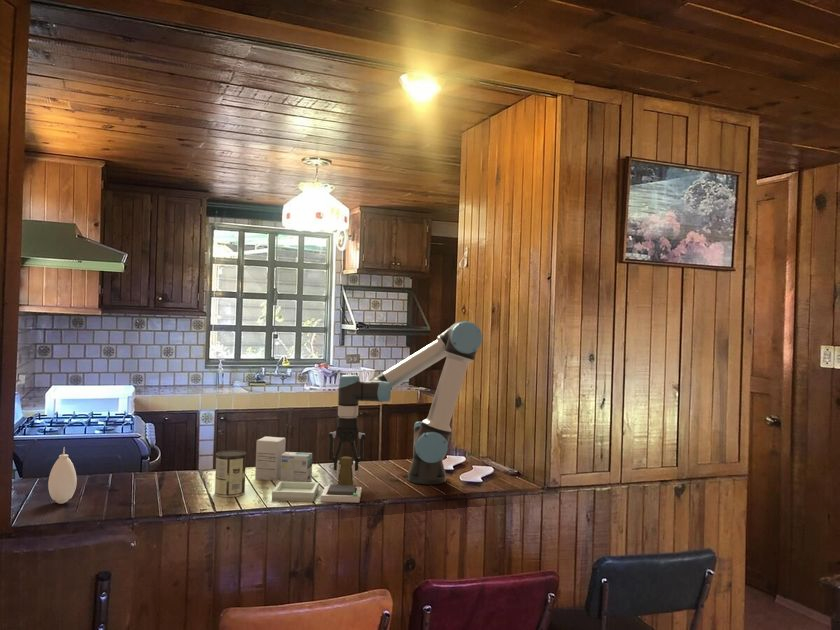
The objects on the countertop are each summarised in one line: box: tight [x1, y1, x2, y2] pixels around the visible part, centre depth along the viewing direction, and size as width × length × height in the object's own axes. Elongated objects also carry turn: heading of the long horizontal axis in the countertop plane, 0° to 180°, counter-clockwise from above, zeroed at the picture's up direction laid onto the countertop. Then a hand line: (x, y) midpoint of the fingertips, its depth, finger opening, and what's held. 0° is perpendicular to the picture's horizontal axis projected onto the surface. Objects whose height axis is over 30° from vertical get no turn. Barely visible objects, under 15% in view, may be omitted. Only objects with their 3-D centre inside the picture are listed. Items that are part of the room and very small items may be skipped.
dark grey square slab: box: [328, 484, 357, 495], centre depth 229 cm, size 9×9×2 cm
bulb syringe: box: [47, 446, 78, 505], centre depth 210 cm, size 8×8×18 cm
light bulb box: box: [279, 451, 313, 482], centre depth 248 cm, size 11×7×11 cm, turn 84°
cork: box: [337, 456, 354, 485], centre depth 243 cm, size 6×6×11 cm
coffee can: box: [214, 450, 247, 498], centre depth 228 cm, size 10×10×14 cm
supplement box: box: [254, 436, 287, 481], centre depth 253 cm, size 9×9×15 cm
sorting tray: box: [271, 480, 320, 503], centre depth 229 cm, size 14×14×3 cm
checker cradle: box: [320, 485, 362, 503], centre depth 229 cm, size 13×13×3 cm
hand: (345, 479), depth 243 cm, fingers closed on cork, 5 cm apart
